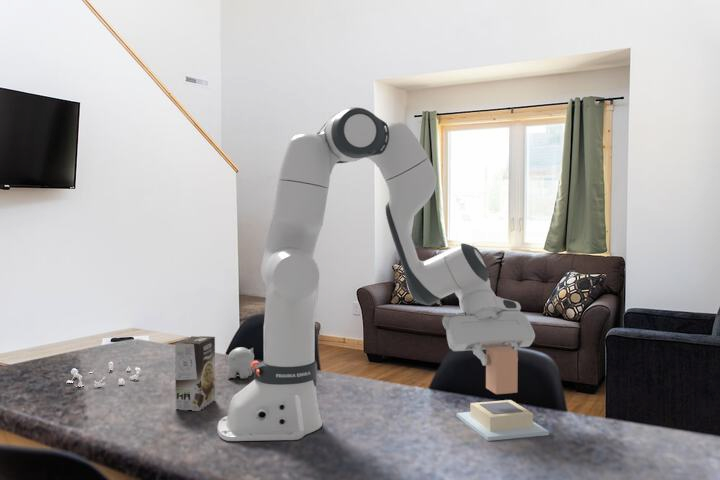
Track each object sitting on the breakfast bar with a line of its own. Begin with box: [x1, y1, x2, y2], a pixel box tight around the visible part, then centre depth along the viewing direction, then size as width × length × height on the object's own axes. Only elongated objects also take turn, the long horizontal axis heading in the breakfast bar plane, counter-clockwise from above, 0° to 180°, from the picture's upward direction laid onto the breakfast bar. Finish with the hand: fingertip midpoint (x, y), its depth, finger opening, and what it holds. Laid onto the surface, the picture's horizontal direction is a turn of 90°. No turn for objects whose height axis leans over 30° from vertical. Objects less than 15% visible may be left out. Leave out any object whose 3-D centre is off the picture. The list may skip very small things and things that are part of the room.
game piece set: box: [66, 361, 141, 387], centre depth 174 cm, size 19×20×4 cm
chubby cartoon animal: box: [226, 346, 255, 380], centre depth 178 cm, size 7×12×8 cm, turn 166°
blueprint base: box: [456, 399, 550, 442], centre depth 136 cm, size 14×16×4 cm
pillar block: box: [485, 347, 519, 395], centre depth 135 cm, size 5×5×9 cm
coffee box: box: [174, 335, 216, 412], centre depth 150 cm, size 9×6×16 cm
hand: (500, 363), depth 136 cm, fingers closed on pillar block, 5 cm apart
